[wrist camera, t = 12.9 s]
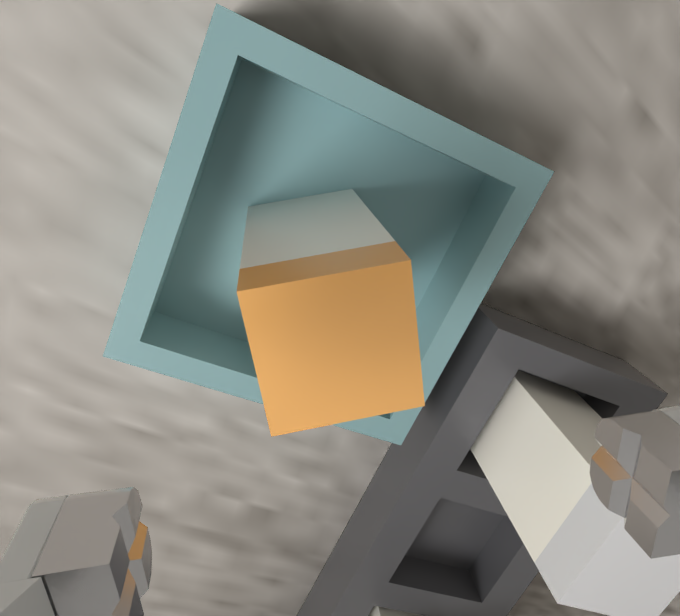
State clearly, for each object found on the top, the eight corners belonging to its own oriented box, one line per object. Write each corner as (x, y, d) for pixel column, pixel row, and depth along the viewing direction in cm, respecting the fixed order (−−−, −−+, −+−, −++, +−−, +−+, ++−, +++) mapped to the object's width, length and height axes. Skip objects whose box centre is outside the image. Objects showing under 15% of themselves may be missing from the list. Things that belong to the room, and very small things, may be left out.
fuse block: (422, 658, 33) (437, 711, 30) (286, 633, 31) (288, 688, 28) (625, 361, 26) (667, 393, 23) (471, 299, 24) (498, 328, 21)
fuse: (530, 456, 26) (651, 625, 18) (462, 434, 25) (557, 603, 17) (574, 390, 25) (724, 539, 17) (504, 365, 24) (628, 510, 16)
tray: (383, 399, 25) (400, 445, 22) (126, 316, 22) (102, 356, 19) (511, 158, 22) (554, 171, 18) (224, 17, 18) (216, 3, 15)
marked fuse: (365, 285, 22) (425, 406, 14) (269, 303, 22) (271, 436, 14) (352, 188, 20) (411, 260, 12) (248, 206, 20) (236, 291, 12)
